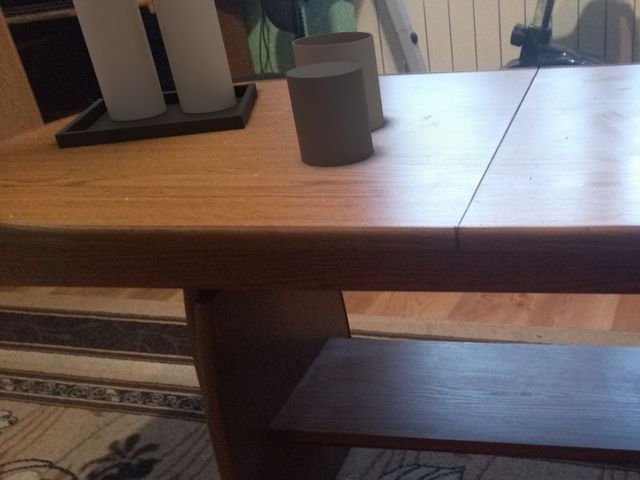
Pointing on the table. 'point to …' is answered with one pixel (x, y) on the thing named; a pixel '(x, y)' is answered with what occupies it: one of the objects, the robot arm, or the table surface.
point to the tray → (155, 121)
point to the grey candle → (330, 113)
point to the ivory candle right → (196, 54)
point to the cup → (346, 50)
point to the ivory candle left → (121, 58)
